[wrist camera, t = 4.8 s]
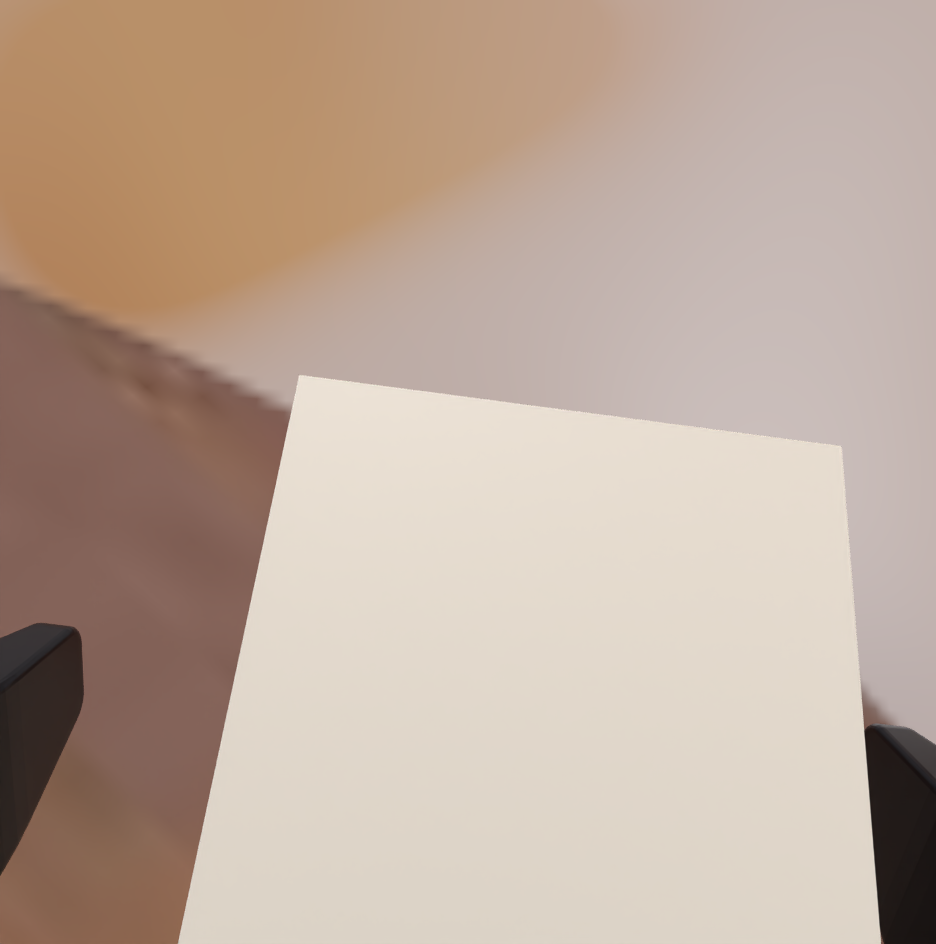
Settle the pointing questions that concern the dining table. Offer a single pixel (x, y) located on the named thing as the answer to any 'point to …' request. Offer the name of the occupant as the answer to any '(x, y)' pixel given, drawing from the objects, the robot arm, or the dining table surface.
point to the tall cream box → (541, 687)
